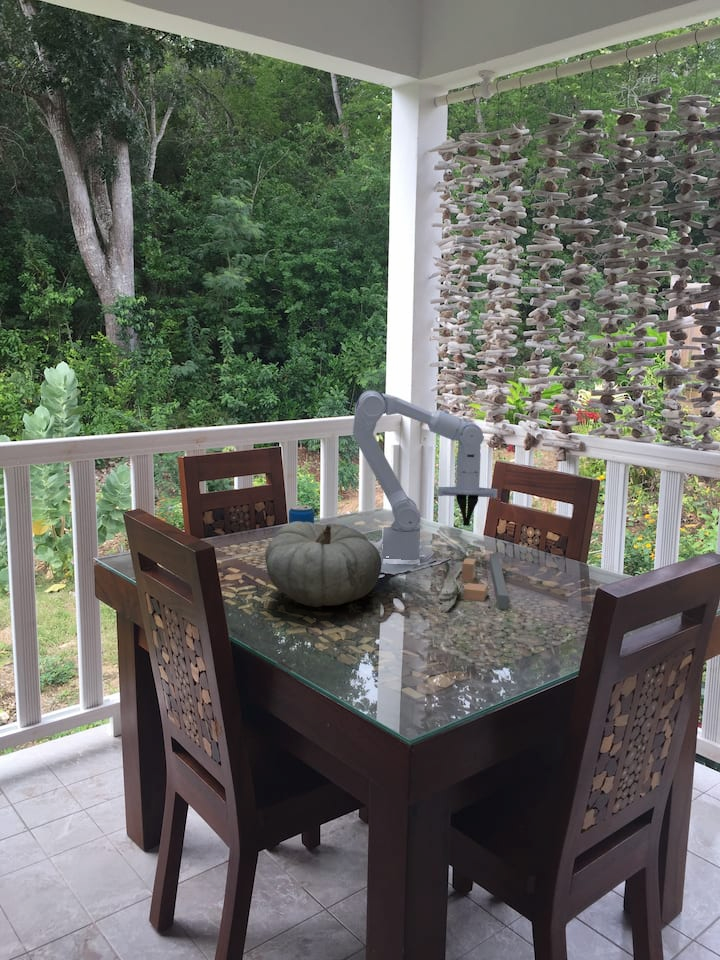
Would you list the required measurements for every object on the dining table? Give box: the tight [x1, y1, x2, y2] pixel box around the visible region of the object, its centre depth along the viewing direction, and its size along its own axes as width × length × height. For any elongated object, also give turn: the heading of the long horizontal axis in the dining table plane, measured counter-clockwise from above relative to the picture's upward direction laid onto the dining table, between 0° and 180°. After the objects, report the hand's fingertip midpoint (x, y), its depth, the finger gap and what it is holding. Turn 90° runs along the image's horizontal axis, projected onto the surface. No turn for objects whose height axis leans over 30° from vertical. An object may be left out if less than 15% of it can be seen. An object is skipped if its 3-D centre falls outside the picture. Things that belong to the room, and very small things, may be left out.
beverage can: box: [288, 504, 315, 524], centre depth 212 cm, size 6×6×12 cm
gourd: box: [264, 521, 383, 608], centre depth 175 cm, size 25×25×17 cm
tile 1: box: [463, 583, 489, 602], centre depth 179 cm, size 4×4×2 cm
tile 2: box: [461, 558, 477, 584], centre depth 191 cm, size 4×4×2 cm
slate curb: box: [489, 553, 509, 610], centre depth 187 cm, size 2×32×3 cm, turn 174°
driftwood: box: [437, 557, 464, 613], centre depth 187 cm, size 37×2×5 cm
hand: (466, 524), depth 205 cm, fingers closed
